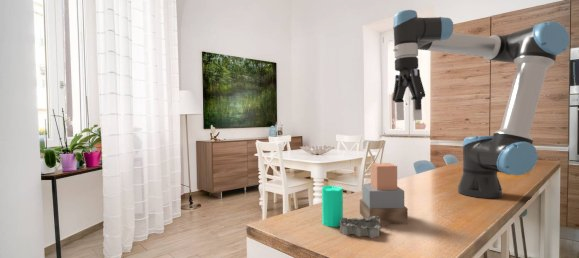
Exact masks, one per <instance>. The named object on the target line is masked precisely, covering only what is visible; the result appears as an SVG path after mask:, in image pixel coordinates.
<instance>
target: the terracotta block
mask: <svg viewBox="0 0 579 258" xmlns="http://www.w3.org/2000/svg"><path fill="white" fill-rule="evenodd" d="M370 184H371V186H372V187H374V188H375V189H376V190H397V186H398V165H395V164H393V163H390V162H387V163H386V162H382V163H379V162H378V163H375V162H374V163H370Z"/></svg>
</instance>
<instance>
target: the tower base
mask: <svg viewBox="0 0 579 258" xmlns="http://www.w3.org/2000/svg"><path fill="white" fill-rule="evenodd" d="M359 214H360V215H361V216H362V218H368V217H369V216H380V225H381V226H382V225H386V226H387V225H408V222H409V220H408V208H407V207H406V206H405V205H404V208H369V207H368V206H367V204H366V203H365V202H364V201H363V200H362V198H361V199H359Z"/></svg>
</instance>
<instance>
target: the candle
mask: <svg viewBox="0 0 579 258" xmlns="http://www.w3.org/2000/svg"><path fill="white" fill-rule="evenodd" d="M321 198H322V199H321V208H322V210H321V211H322V212H321V213H322V214H321V215H322V217H321V218H322V219H321V221H322V225H324V226H327V227H331V228H334V227H335V228H336V227H340V220H341V219H342V218H344V189H343V187H341V186H335V185H333V182H331V185H328V184H327V185H324V186H322V187H321Z"/></svg>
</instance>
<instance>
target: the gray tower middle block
mask: <svg viewBox="0 0 579 258" xmlns="http://www.w3.org/2000/svg"><path fill="white" fill-rule="evenodd" d="M361 187H362V188H361V191H362V193H361V194H362V195H361V196H362V198H361V199H362V200H363V201H364V202H365V203H366V204H367V206H368V207H369V208H404V206H405V190H404V189H402V188H400V187H399V186H398V185H397V190H376V189H375V188H374V187H372V186H371V183H370V184H369V183H362V186H361Z"/></svg>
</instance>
